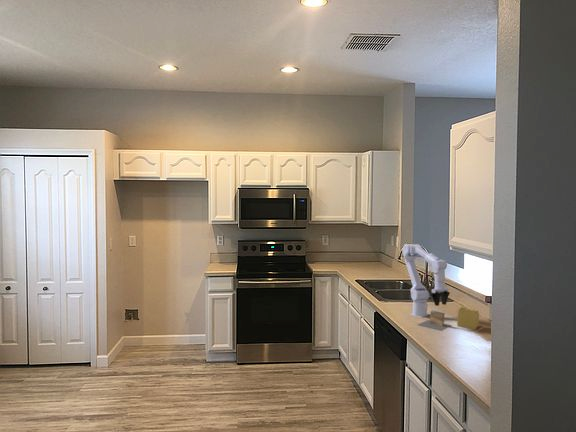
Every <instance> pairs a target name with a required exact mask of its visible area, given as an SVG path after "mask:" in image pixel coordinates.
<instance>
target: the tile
mask: <svg viewBox="0 0 576 432" xmlns="http://www.w3.org/2000/svg"><path fill="white" fill-rule="evenodd" d="M429 316H430V317H429V318H430V319H429V320H430V323H431V324H435V325H440V326H443V325H444V324H445V312H442V311H436V310H431V311H430V315H429Z"/></svg>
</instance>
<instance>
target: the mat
mask: <svg viewBox="0 0 576 432" xmlns="http://www.w3.org/2000/svg"><path fill="white" fill-rule="evenodd" d="M417 326H419V327H422V328H423V327H424V328H428V329H431V330H437V331H439V332H442V331H444V330H446V329H448V328H450V327H452V326H453V325H451V324H448V323H444V325H443V326H440V325H435V324H431V323H430V319H427V320H425V321H423V322H421V323H418V324H417Z"/></svg>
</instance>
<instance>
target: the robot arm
mask: <svg viewBox="0 0 576 432" xmlns="http://www.w3.org/2000/svg"><path fill="white" fill-rule="evenodd" d="M401 251H402V256H403V257H404V263H405V266H406V269H407V271H408V276H409V278H410V282H411V285H412V287H411V288H410V298H411V300H412V301H413V303H412V313H410V314H409V315H410V316H413V317H414V316H415V317H418V318H424V317H427V316H429V314H428V305H429V304H428V300H429V299H430V296H431V298H432V299H433V302H434V306H437V307H438V306H439V305H440V299H441V304H442V305H445V306H447V301H448V298H449V296H450V292H449V287H446V273H445V272H446V271H445V270H446V269H447V266H448V264H447V261H446V260H445V259H440V257H437V256H436V255H435V254H434V253H430V252H427V251H426V250H425V249H424V248H423V247H422V246H421V245H419V244H418V243H408V244H407V243H405V244H404V245H403V247H402V249H401ZM418 256H421V257H422V258H423V259H424V261H425V262H426V263H427V264H429V265H430V266H431V268H432V271H433V274H434V288H433V289H431V292H429V291H428V290H427V287H426V286H425V285H423V284H422V281H421V278H420V274H419V272H418V267H417V265H416V263H415V259H416V258H417V257H418Z"/></svg>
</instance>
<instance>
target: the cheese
mask: <svg viewBox="0 0 576 432" xmlns="http://www.w3.org/2000/svg"><path fill="white" fill-rule="evenodd" d="M479 318H480V313H479V310H477V309H475V308H471V307H468V306H464V305H463V306H460V308H459V309H458V313H457V322H456V324H457V325H456V326H457V327H459V328H464V329H465V328H466V329H471V330H477V328H478V327H479V325H480V319H479Z"/></svg>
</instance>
